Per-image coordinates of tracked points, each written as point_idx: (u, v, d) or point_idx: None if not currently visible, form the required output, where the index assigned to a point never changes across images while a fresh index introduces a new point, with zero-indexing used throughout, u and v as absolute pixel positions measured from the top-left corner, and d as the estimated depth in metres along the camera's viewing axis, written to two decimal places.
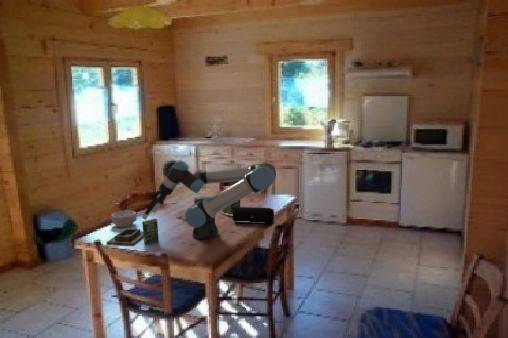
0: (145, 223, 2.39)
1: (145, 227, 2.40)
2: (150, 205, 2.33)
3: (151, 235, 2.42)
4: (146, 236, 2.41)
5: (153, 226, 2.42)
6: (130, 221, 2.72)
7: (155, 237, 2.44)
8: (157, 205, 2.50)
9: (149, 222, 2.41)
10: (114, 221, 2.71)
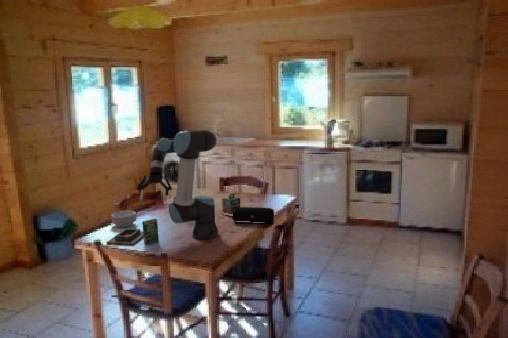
0: (145, 223, 2.39)
1: (145, 227, 2.40)
2: None
3: (151, 235, 2.42)
4: (146, 236, 2.41)
5: (153, 226, 2.42)
6: (130, 221, 2.72)
7: (155, 237, 2.44)
8: None
9: (149, 222, 2.41)
10: (114, 221, 2.71)
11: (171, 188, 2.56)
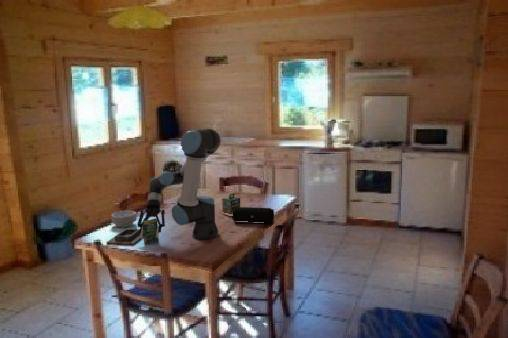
0: (145, 223, 2.39)
1: (145, 227, 2.40)
2: None
3: (151, 235, 2.42)
4: (146, 236, 2.41)
5: (153, 226, 2.42)
6: (130, 221, 2.72)
7: (155, 237, 2.44)
8: None
9: (149, 222, 2.41)
10: (114, 221, 2.71)
11: (164, 225, 2.45)
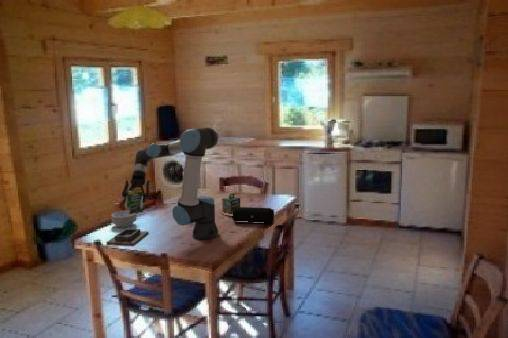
0: (129, 193, 2.42)
1: (129, 197, 2.42)
2: None
3: (136, 205, 2.45)
4: (130, 206, 2.43)
5: (137, 196, 2.44)
6: (130, 221, 2.72)
7: (139, 207, 2.46)
8: None
9: (133, 192, 2.43)
10: (114, 221, 2.71)
11: (148, 195, 2.47)
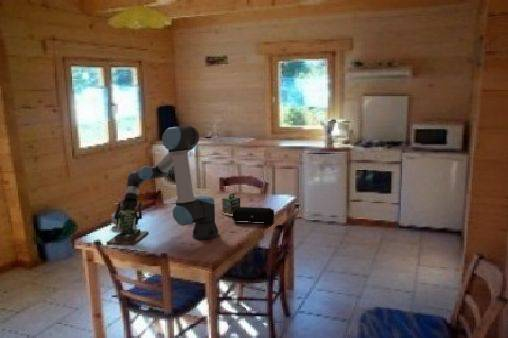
0: (123, 213, 2.46)
1: (122, 217, 2.47)
2: None
3: (128, 225, 2.49)
4: (123, 226, 2.48)
5: (130, 217, 2.49)
6: None
7: (132, 227, 2.51)
8: None
9: (127, 212, 2.48)
10: (114, 221, 2.71)
11: (141, 217, 2.52)
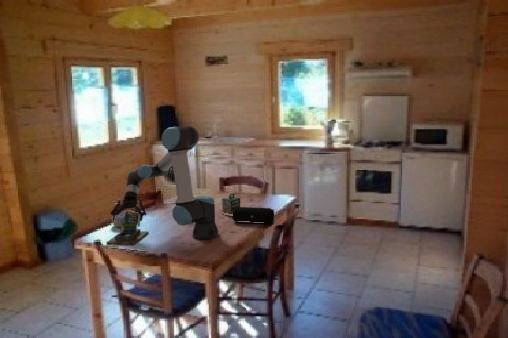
0: (129, 213, 2.49)
1: (127, 217, 2.49)
2: None
3: (130, 226, 2.51)
4: (125, 225, 2.49)
5: (134, 218, 2.52)
6: None
7: (133, 229, 2.52)
8: None
9: (132, 213, 2.51)
10: None
11: (145, 213, 2.54)
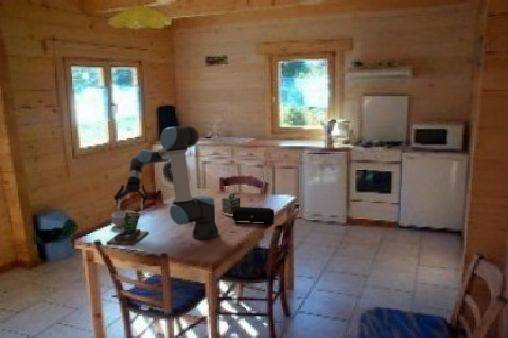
0: (129, 214, 2.47)
1: (127, 218, 2.48)
2: None
3: (130, 227, 2.50)
4: (125, 227, 2.48)
5: (134, 219, 2.51)
6: None
7: (133, 230, 2.52)
8: None
9: (132, 214, 2.49)
10: (114, 221, 2.71)
11: (148, 197, 2.62)
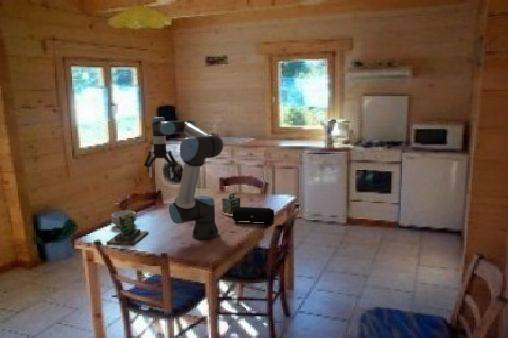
0: (122, 218, 2.46)
1: (122, 221, 2.47)
2: None
3: (128, 229, 2.50)
4: (123, 230, 2.48)
5: (129, 220, 2.50)
6: None
7: (132, 230, 2.52)
8: None
9: (126, 216, 2.48)
10: (114, 221, 2.71)
11: (176, 165, 2.64)
